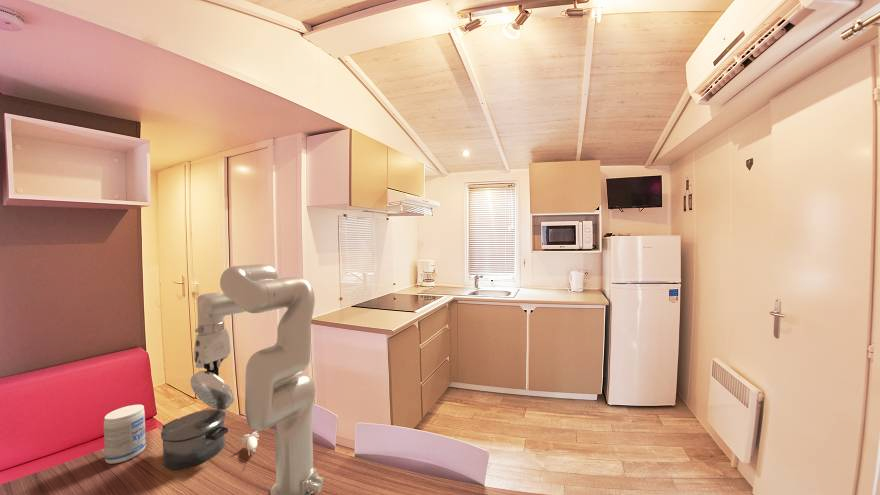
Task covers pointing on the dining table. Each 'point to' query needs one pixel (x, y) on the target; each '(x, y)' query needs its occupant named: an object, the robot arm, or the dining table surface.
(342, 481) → the dining table surface
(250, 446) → the white toy bomb
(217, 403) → the pot lid
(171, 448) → the pot
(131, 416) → the supplement tub
